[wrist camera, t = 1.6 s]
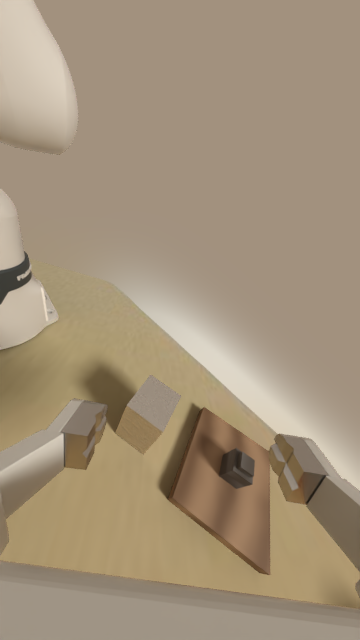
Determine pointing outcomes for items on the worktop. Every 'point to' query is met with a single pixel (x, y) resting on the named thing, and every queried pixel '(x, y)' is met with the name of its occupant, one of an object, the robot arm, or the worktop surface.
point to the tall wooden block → (147, 414)
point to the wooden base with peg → (227, 488)
